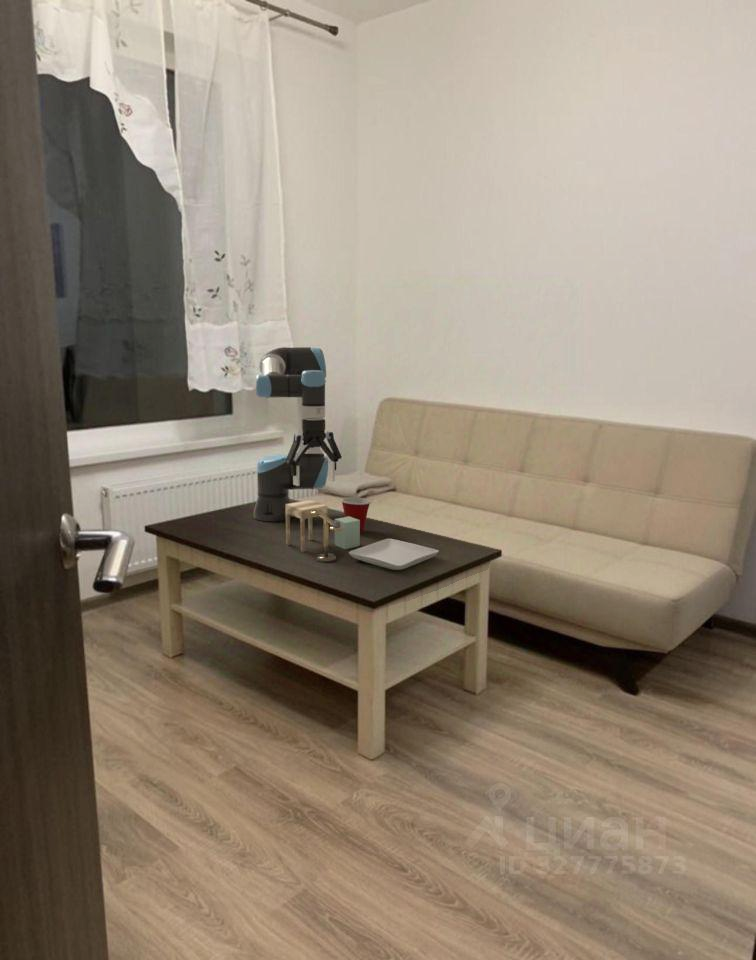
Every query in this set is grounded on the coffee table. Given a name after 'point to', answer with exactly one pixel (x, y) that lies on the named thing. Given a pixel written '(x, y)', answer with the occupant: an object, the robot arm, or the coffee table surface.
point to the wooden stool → (304, 512)
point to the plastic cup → (356, 509)
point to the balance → (336, 527)
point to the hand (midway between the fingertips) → (314, 482)
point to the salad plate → (393, 554)
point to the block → (348, 533)
